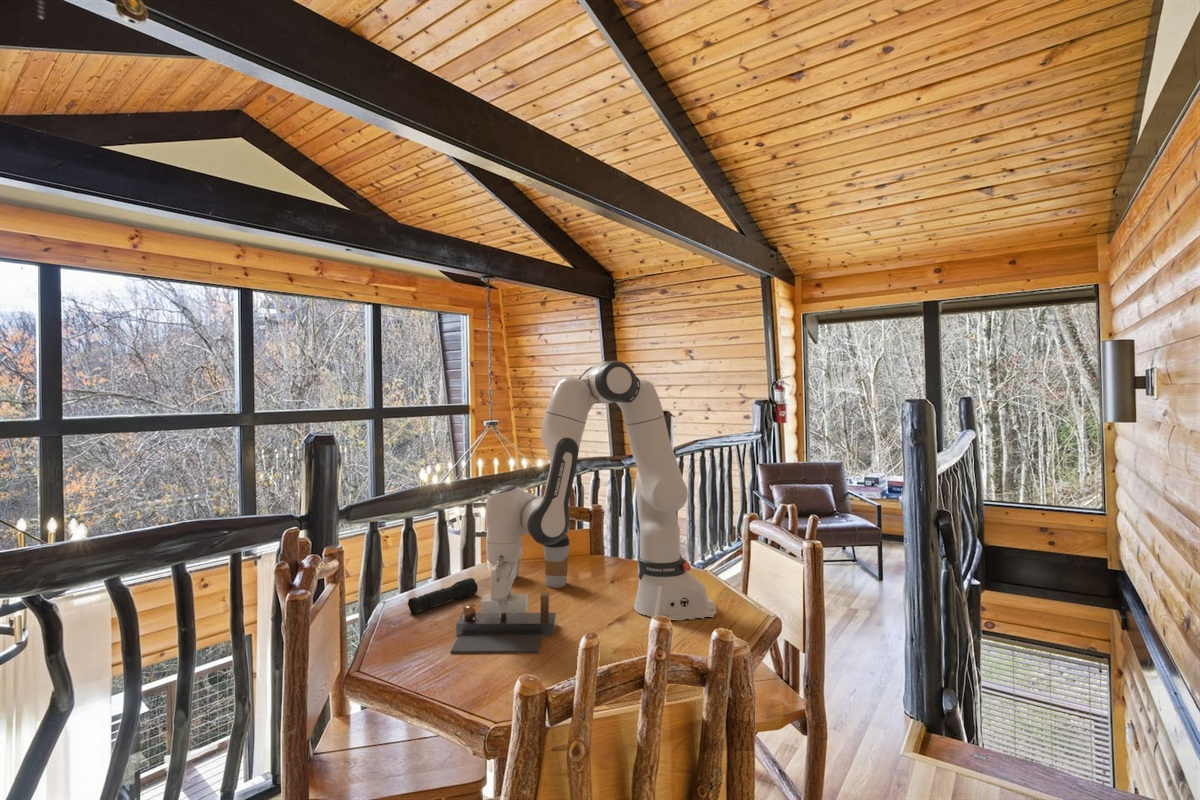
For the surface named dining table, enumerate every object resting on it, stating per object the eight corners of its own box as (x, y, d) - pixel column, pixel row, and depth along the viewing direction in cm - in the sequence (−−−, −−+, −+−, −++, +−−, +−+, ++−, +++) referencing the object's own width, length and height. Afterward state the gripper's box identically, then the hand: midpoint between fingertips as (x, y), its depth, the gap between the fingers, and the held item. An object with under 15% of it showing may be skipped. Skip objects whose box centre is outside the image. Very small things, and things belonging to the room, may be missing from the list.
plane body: (555, 624, 149) (555, 589, 149) (553, 635, 142) (553, 599, 142) (462, 624, 149) (462, 589, 149) (456, 635, 142) (456, 599, 142)
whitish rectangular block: (527, 605, 148) (527, 593, 148) (525, 612, 143) (525, 600, 143) (484, 605, 148) (484, 594, 148) (481, 613, 143) (480, 601, 143)
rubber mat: (541, 638, 140) (541, 635, 140) (537, 653, 132) (537, 650, 132) (458, 638, 140) (458, 636, 140) (450, 653, 132) (450, 650, 132)
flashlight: (478, 596, 170) (478, 579, 170) (417, 617, 154) (417, 599, 154) (467, 592, 173) (467, 575, 173) (406, 613, 157) (406, 595, 157)
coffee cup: (565, 590, 174) (565, 540, 174) (539, 588, 176) (539, 539, 176) (572, 581, 183) (572, 534, 182) (547, 579, 184) (547, 532, 184)
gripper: (510, 563, 135) (511, 621, 135) (521, 540, 155) (522, 591, 155) (483, 563, 134) (484, 622, 135) (498, 540, 155) (498, 591, 155)
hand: (504, 605), depth 145 cm, fingers closed on whitish rectangular block, 5 cm apart
